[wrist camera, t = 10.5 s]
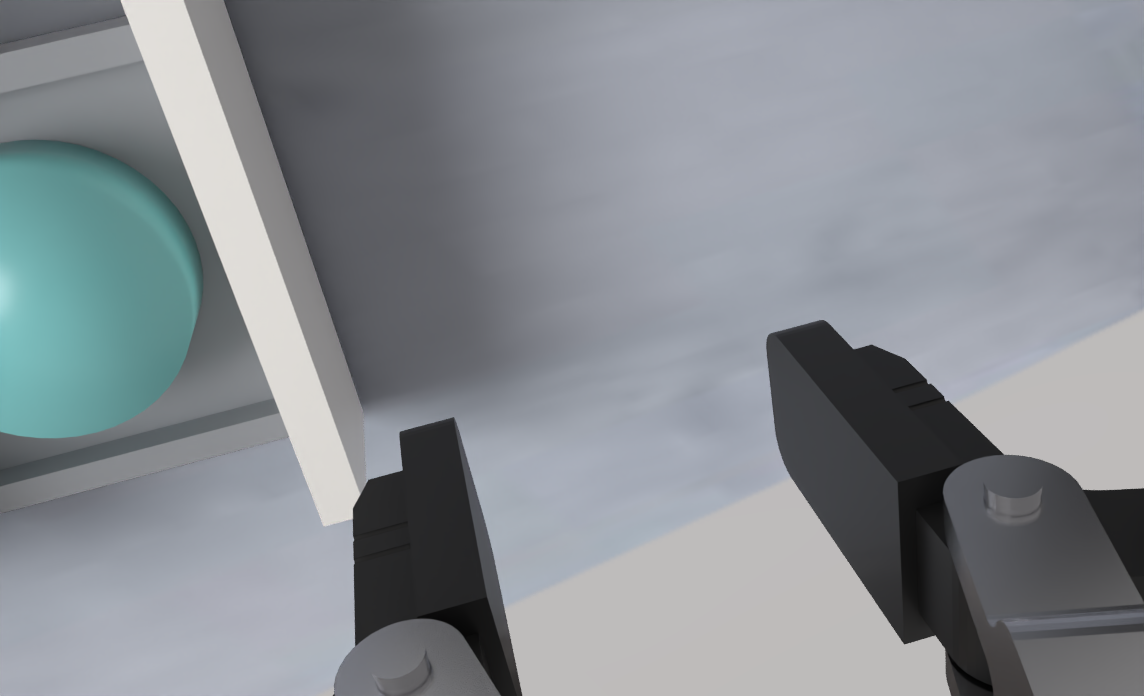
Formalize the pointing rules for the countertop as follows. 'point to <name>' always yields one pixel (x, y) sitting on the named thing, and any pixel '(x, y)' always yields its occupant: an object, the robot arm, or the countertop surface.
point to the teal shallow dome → (88, 290)
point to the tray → (225, 243)
